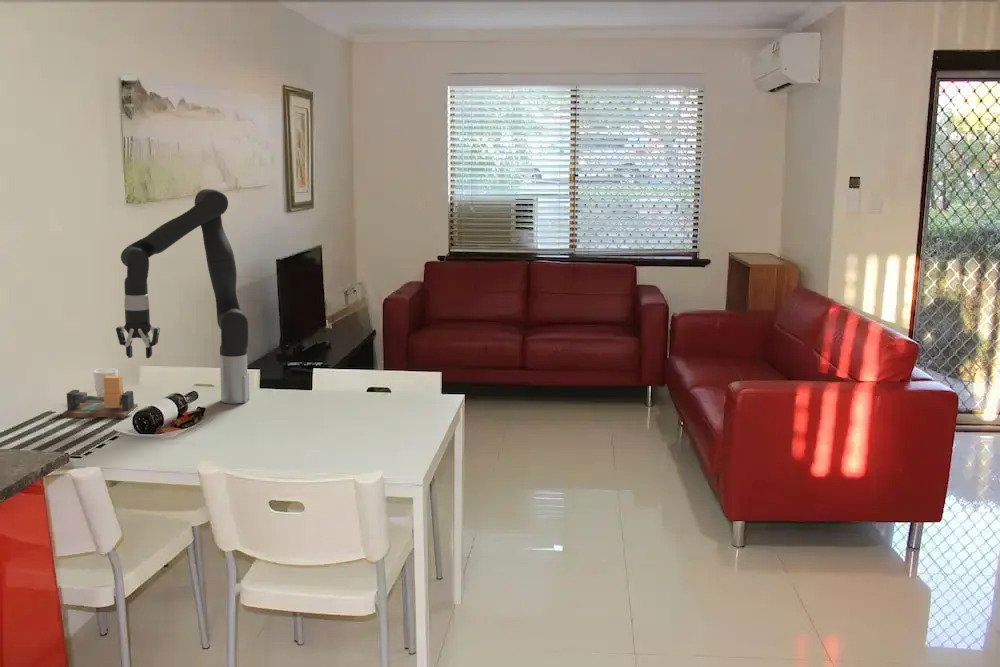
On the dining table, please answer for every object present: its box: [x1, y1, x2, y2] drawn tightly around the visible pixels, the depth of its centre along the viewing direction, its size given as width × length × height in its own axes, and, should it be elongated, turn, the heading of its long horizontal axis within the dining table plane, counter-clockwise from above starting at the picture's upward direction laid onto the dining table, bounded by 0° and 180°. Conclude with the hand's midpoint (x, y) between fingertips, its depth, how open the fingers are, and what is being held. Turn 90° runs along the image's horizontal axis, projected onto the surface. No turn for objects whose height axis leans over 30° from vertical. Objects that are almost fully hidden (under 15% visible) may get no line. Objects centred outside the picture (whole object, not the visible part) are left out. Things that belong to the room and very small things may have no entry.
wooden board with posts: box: [62, 389, 139, 418], centre depth 303 cm, size 20×12×7 cm, turn 92°
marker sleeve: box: [103, 375, 125, 407], centre depth 302 cm, size 5×4×10 cm
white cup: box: [93, 367, 119, 396], centre depth 320 cm, size 8×8×10 cm
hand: (139, 357), depth 300 cm, fingers open, 5 cm apart
